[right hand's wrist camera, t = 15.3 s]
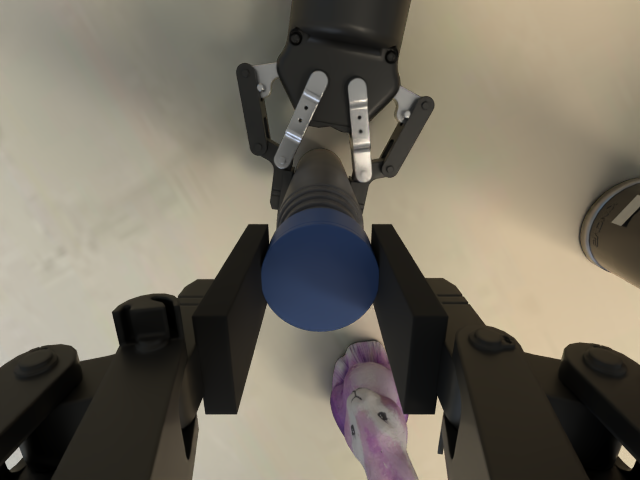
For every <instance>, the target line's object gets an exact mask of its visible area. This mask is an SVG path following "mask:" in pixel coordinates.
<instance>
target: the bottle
mask: <svg viewBox="0 0 640 480" xmlns="http://www.w3.org/2000/svg"><path fill="white" fill-rule="evenodd" d="M313 208H328V209H333V210H337V211H339V212H342V213H344V214H346V215H348V216H350V217H351V218H352V219H354V220H355V221H356V222H357V223H358V224H359V225H360V226H361V227H362V228H363V229H364V226H363V216H362V212H361V210H360V207H359V205H358V202H357V200H356V197H355V195H354V192H353V190H352V187H351V185H350V182H349V180H348V177H347V175H346V172H345V170H344V167H343V165H342V163H341V161H340V159H339V158H338V156H337V155H336V154H334V153H333V152H331V151H329V150H327V149H313V150H311V151H309V152H307V153H306V154H304V155H303V156H302V158H301V159H300V161H299V163H298V165H297V167H296V170H295V172H294V175H293V177H292V180H291V182H290V185H289V187H288V190H287V192H286V195H285V197H284V200H283V202H282V205H281V207H280V210H279V213H278V216H277V228H278V227H279V226H280V225H281V224H282V223H283V222H284V221H285V220H286V219H288V218H289V217H291V216H292V215H294V214H296V213H298V212H300V211H304V210H307V209H313ZM276 230H277V229H276Z"/></svg>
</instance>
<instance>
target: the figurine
mask: <svg viewBox="0 0 640 480" xmlns="http://www.w3.org/2000/svg"><path fill="white" fill-rule="evenodd" d="M330 404H331V409H332V413H333V416H334V419H335V421H336V423H337V425H338V427H339V429H340V430H341V432H342V434H343V435H344V437H345V439H346V442H347V444H348V446H349V447H350V449H351V451H352V452H353V454H354V455H355V457H356V458H357V459H358V460H359V461H360V463H361V464H362V465H363V467H364V469H365V472H366V475H367V479H368V480H419V479H418V477H417V475H416V472H415V470H414V468H413V465H412V463H411V461H410V459H409V456H408V453H407V450H406V448H407V434H408V431H407V424H406V423H407V419H408V414H403V411H402V407H401V404H400V400H399V396H398V393H397V389H396V385H395V382H394V378H393V374H392V371H391V367H390V363H389V360H388V356H387V353H386V352H385V350H384V348H383V346H382V345H381V344H380V343H379V342H376V341H371V342H370V341H369V342H368V341H367V342H359V343H358V342H357V343H356V344H355V343H354V344H352V345H350V346H349V347H348V349H347V351H346V354H345V355H344V356H343V357H341V358H339V359H338V361H337V362H336V364H335V368H334V374H333V382H332V392H331V398H330Z"/></svg>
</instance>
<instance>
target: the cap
mask: <svg viewBox="0 0 640 480" xmlns="http://www.w3.org/2000/svg"><path fill="white" fill-rule="evenodd" d="M261 279H262V292H263V295H264V297H265V300H266V301H267V303H268V305H269V306H270V308H271V309H272V310H273V311H274V312H275V313H276V314H277V315H278V316H279V317H280V318H281V319H282V320H284V321H285V322H287V323H289V324H290V325H293V326H295V327H297V328H300V329H303V330H308V331H317V332H322V331H332V330H336V329H340V328H343V327H345V326H348V325H349V324H351V323H353V322H355V321H356V320H358V319H359V318H360V317H361V316H362V315H364V314H365V313H366V311H367V310H368V309H369V308H370V306H371V305H372V303H373V302H374V300H375V297H376V295H377V292H378V283H379V266H378V263H377V260H376V257H375V254H374V252H373V249H372V246H371V244H370V241H369V239H368V236H367V234H366V233H365V231H364V230H363V228H362V227H361V226H360V225H359V224H358V223H357V222H356V221H355V220H354V219H352V218H351V217H350V216H348V215H346V214H344V213H342V212H339V211H337V210H333V209H328V208H313V209H307V210H304V211H300V212H298V213H296V214H294V215H292V216H291V217H289V218H288V219H286V220H285V221H284V222H283V223H282V224H281V225H280V226H279V227H278V228H277V230H276V231H275V233H274V235H273V237H272V239H271V241H270V244H269V247H268V249H267V252H266V255H265V257H264V260H263V263H262V267H261Z"/></svg>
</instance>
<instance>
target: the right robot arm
mask: <svg viewBox="0 0 640 480" xmlns="http://www.w3.org/2000/svg"><path fill="white" fill-rule="evenodd" d="M371 246H372V249H373V252H374V254H375V257H376V260H377V263H378V266H379V283H378V292H377V295H376V297H375V300H374V302H373V305H374V308H375V312H376V316H377V319H378V323H379V327H380V330H381V334H382V338H383V341H384V345H385V349H386V352H387V356H388V360H389V363H390V367H391V371H392V374H393V378H394V382H395V385H396V389H397V393H398V396H399V400H400V404H401V407H402V411H403V414H435V409H436V402H437V396H438V398H439V400H440V403H441V405H442V408H443V410H444V413H443V420H442V426H441V433H440V439H439V446H438V454H443V449H444V453H445V460H446V468H447V475H448V480H640V365H639V364H638V363H636V362H635V361H633V360H632V359H630V358H628V357H627V356H625V355H624V354H622V353H619V352H617V351H615V350H612V349H611V348H609V347H606V346H600V345H598V344H593V343H580V342H579V343H574V344H569V345H568V346H567V347H566V348H565V349H564V352H563V355H562V359H561V360H559V359H554V358H549V357H544V356H539V355H533V354H530V353H526V352H524V351H523V349H522V347H521V345H520V344H519V343H518V342H517V341H516V339H515V338H514V337H512V336H510V335H509V334H507V333H506V332H504V331H502V330H499V329H497V328H494V327H490V326H486V325H485V324H484V322H483V321H482V320H481V319H480V317H479V316H478V315H477V313H476V312H475V311H474V309H473V308H472V307H471V305H470V304H468V302H467V300H466V299H465V298H464V297H462V294H461V292H460V291H459V290H458V288H457V287H456V286H455V285H453V284H452V283H450V282H448V281H447V280H445V279H444V278H425V277H424V276H423V274H422V273H421V271H420V269H419V268H418V266H417V264H416V263H415V261H414V260H413V258H412V256H411V255H410V253H409V252H408V250H407V248H406V247H405V245H404V243H403V242H402V240H401V239H400V237H399V235H398V234H397V232H396V231H395V229H394V227H393V226H392V224H372V235H371ZM268 247H269V231H268V224H248V226H247V228H246V229H245V231H244V233H243V234H242V236H241V237H240V239H239V241H238V242H237V244H236V245H235V247H234V249H233V250H232V252H231V254H230V255H229V257H228V258H227V260H226V262H225V263H224V265H223V267H222V268H221V270H220V271H219V273H218V275H217V276H216V278H215V279H197V280H196V281H194V282H192V283H191V284H189V285H187V286H186V287H185V288H184V289H183V290H182V292H181V293H180V294H179V296H178V298H176V297H175V296H173V295H169V294H149V295H143V296H139V297H136V298H133V299H130V300H128V301H126V302H124V303H122V304H120V305H119V306H118V307H117V308H116V309H115V310H114V311H112V314H113V319H114V323H115V328H116V332H117V336H118V341H119V345H120V346H119V348H118V350H117V352H116V354H113V355H109V356H105V357H100V358H95V359H90V360H85V361H79V358H78V354H77V351H76V350H75V349H74V348H73V347H72V346H69V345H63V344H58V345H46V346H41V347H40V348H39V347H38V348H34V349H31V350H30V351H28V352H26V353H23V354H21V355H19V356H17V357H15V358H14V359H12V360H11V361H9V362H7V363H6V364H4V365H3V366H2V367H1V368H0V480H192V476H193V469H194V461H195V453H196V446H197V438H198V431H199V427H198V420H197V410H198V408H199V405H200V403H201V401H202V398H203V400H204V407H205V414H237V412H238V408H239V405H240V401H241V397H242V394H243V390H244V386H245V383H246V379H247V375H248V372H249V368H250V364H251V361H252V357H253V353H254V350H255V346H256V342H257V339H258V335H259V331H260V328H261V324H262V320H263V316H264V313H265V309H266V305H267V301H266V300H265V297H264V295H263V292H262V279H261V267H262V263H263V260H264V257H265V255H266V252H267V249H268ZM622 445H623V446H624V447H625V448H626V449H627V450H628V451H629V453H630V454H631V455H632V456H633V457H634V458H635V459H636V462H635V465H634V467H633V468H632V469H631V468H629V467H628V466H627V465H626V464H625V463H624V462H623V461H622V460H621V459H620V458H619V457H618V454H619V451H620V449H621V446H622ZM18 447H19V448H20V450H21V453H22V455H23V458H22V459H21V460H20V461H19V462H18V464H17V465H15V466H14V467H13V468H12V469H10V470H9V469H7V466H6V464H5V461H6V460H7V459H8V458H9V457H10V456H11V455H12V454H13V453H14V451H15V450H16V449H17V448H18Z"/></svg>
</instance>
